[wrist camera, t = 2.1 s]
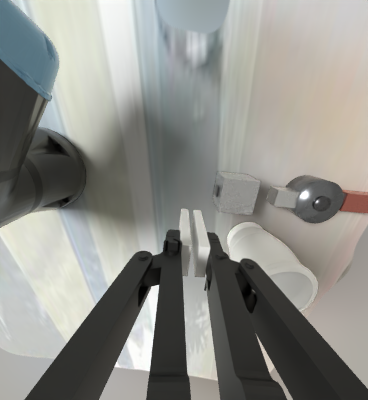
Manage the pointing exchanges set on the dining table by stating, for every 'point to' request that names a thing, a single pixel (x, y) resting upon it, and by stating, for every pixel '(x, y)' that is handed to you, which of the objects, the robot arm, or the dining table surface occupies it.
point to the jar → (273, 262)
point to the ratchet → (316, 199)
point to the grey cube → (235, 193)
